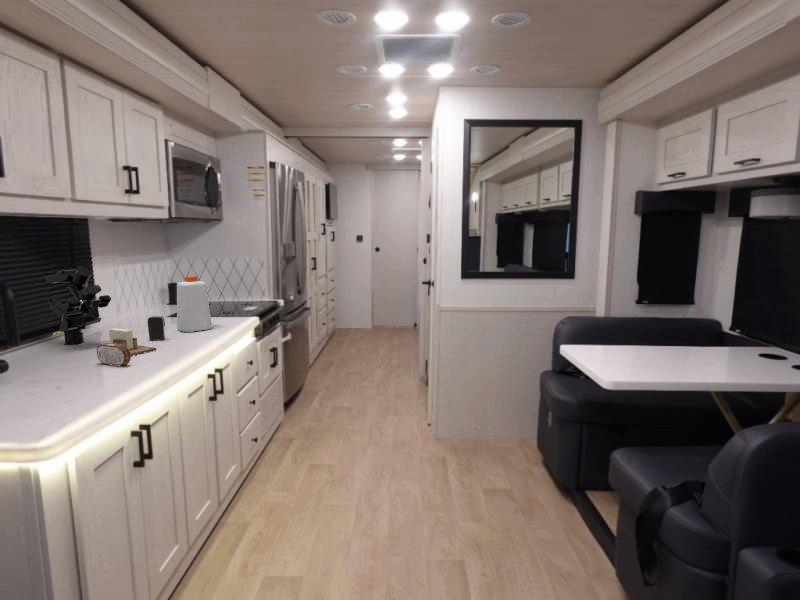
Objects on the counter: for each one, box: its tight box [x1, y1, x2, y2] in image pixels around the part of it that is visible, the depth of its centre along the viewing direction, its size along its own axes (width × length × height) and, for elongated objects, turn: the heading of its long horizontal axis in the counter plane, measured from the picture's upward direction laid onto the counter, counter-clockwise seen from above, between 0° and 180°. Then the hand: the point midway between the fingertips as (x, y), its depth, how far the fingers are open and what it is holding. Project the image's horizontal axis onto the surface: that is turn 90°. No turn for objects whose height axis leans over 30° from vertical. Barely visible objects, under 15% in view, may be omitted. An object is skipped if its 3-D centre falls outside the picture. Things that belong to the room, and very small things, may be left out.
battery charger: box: [147, 315, 166, 341], centre depth 229 cm, size 7×4×11 cm, turn 99°
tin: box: [96, 342, 132, 366], centre depth 187 cm, size 15×3×8 cm, turn 71°
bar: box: [108, 327, 134, 349], centre depth 208 cm, size 11×3×8 cm, turn 64°
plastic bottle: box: [176, 275, 213, 333], centre depth 252 cm, size 15×15×28 cm
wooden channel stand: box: [113, 337, 157, 357], centre depth 207 cm, size 16×14×6 cm
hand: (97, 317), depth 214 cm, fingers closed
